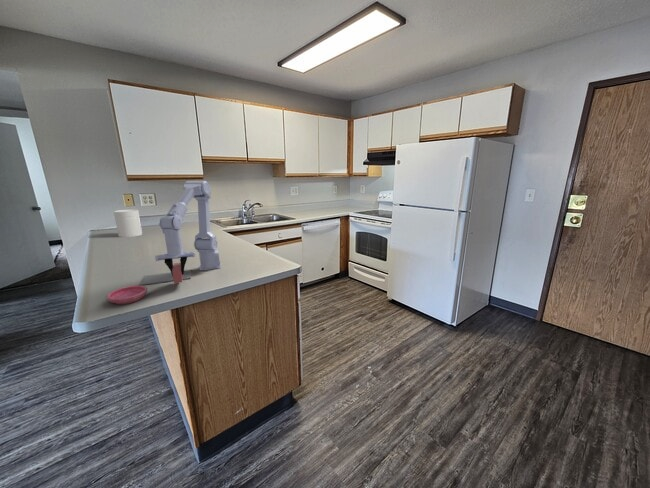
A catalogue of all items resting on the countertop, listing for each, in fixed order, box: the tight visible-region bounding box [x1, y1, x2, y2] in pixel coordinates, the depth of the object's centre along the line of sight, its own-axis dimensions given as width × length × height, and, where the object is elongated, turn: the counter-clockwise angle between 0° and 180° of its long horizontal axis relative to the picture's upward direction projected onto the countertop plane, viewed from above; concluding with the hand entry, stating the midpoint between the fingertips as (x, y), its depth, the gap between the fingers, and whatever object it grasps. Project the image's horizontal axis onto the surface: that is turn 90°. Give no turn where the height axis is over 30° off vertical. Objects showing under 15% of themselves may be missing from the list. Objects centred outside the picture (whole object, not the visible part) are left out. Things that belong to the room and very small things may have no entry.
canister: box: [113, 209, 143, 238], centre depth 213 cm, size 16×16×20 cm
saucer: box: [106, 284, 148, 305], centre depth 102 cm, size 12×12×3 cm
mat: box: [138, 269, 192, 286], centre depth 123 cm, size 20×12×1 cm, turn 114°
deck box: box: [172, 262, 184, 284], centre depth 114 cm, size 3×9×6 cm, turn 25°
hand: (178, 274), depth 114 cm, fingers closed on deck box, 3 cm apart
